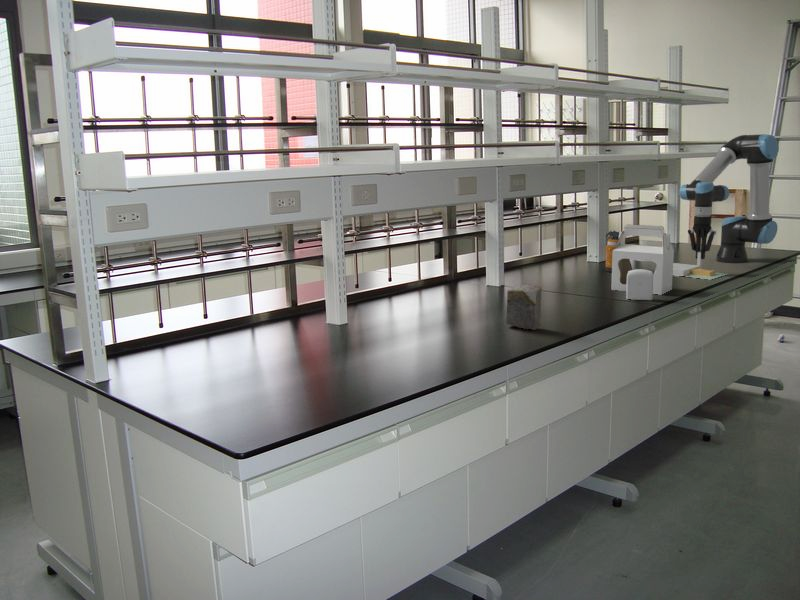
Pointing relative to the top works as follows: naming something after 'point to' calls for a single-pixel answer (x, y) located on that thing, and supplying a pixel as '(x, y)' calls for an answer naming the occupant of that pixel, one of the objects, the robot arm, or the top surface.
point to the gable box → (643, 258)
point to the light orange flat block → (703, 272)
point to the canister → (610, 248)
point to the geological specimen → (524, 306)
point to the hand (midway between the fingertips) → (699, 265)
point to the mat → (707, 276)
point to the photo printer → (639, 285)
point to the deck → (683, 269)
